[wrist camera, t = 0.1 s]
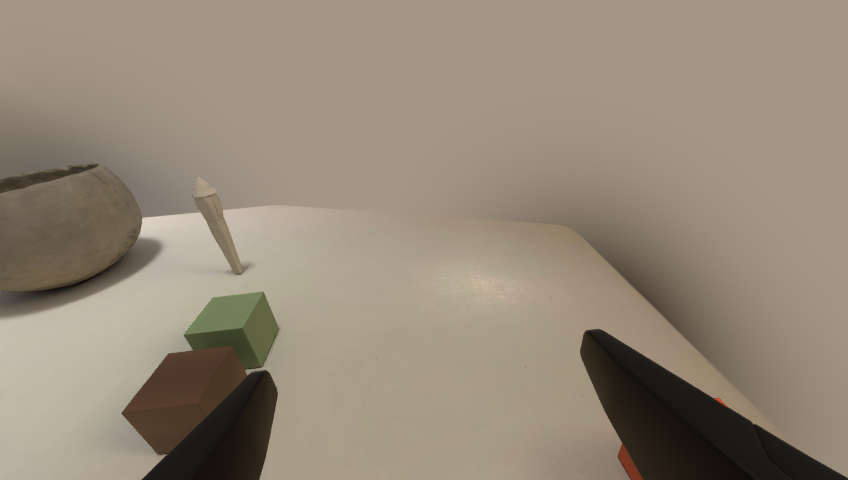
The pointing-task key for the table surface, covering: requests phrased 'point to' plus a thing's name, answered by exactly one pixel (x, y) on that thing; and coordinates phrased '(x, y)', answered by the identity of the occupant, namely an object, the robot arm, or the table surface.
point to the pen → (216, 220)
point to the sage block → (236, 327)
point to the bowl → (63, 226)
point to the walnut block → (183, 394)
